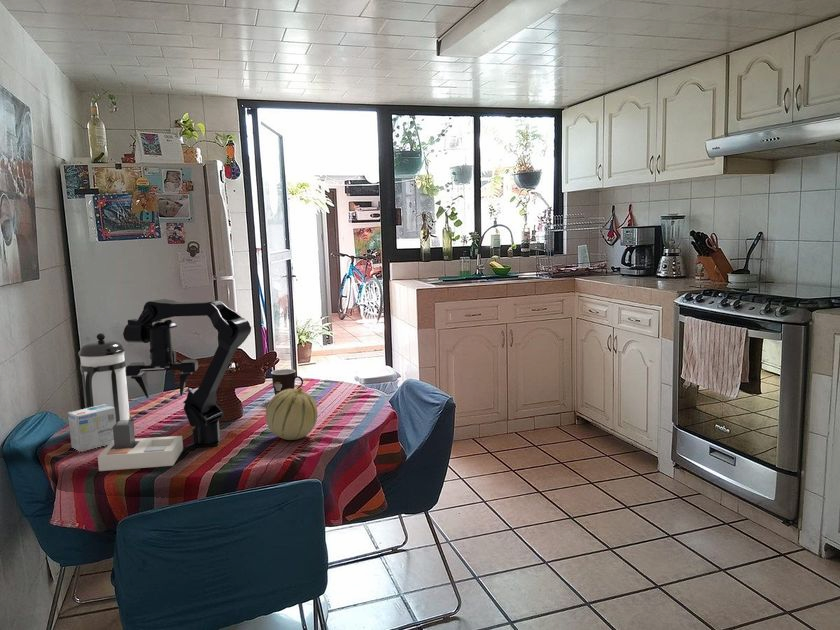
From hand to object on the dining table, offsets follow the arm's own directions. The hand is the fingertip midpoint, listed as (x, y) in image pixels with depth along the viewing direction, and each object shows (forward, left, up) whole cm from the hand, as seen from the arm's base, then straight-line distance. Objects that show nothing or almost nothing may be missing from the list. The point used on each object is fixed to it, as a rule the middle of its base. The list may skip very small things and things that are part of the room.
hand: (164, 396), depth 177 cm
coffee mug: (-32, -36, -13) cm, 50 cm away
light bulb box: (+20, +1, -13) cm, 24 cm away
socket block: (+3, +16, -13) cm, 21 cm away
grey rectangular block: (+7, +15, -13) cm, 21 cm away
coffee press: (+21, -14, -13) cm, 28 cm away
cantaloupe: (-36, +7, -13) cm, 39 cm away
